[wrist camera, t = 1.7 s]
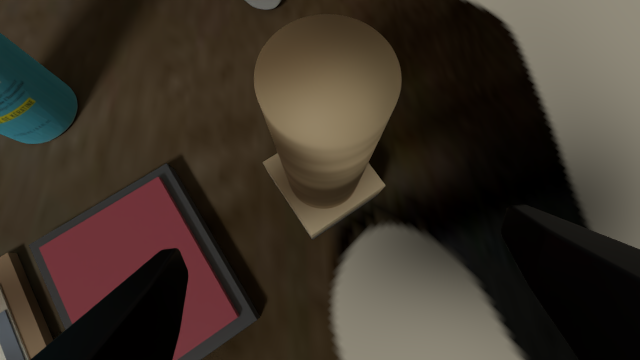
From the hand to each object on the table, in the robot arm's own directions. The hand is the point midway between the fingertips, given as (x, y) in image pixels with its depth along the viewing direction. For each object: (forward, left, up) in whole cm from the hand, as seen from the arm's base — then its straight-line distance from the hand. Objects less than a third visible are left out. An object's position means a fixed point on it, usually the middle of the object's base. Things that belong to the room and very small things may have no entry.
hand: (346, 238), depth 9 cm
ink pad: (+5, +10, -11) cm, 16 cm away
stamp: (+4, -2, -11) cm, 12 cm away
